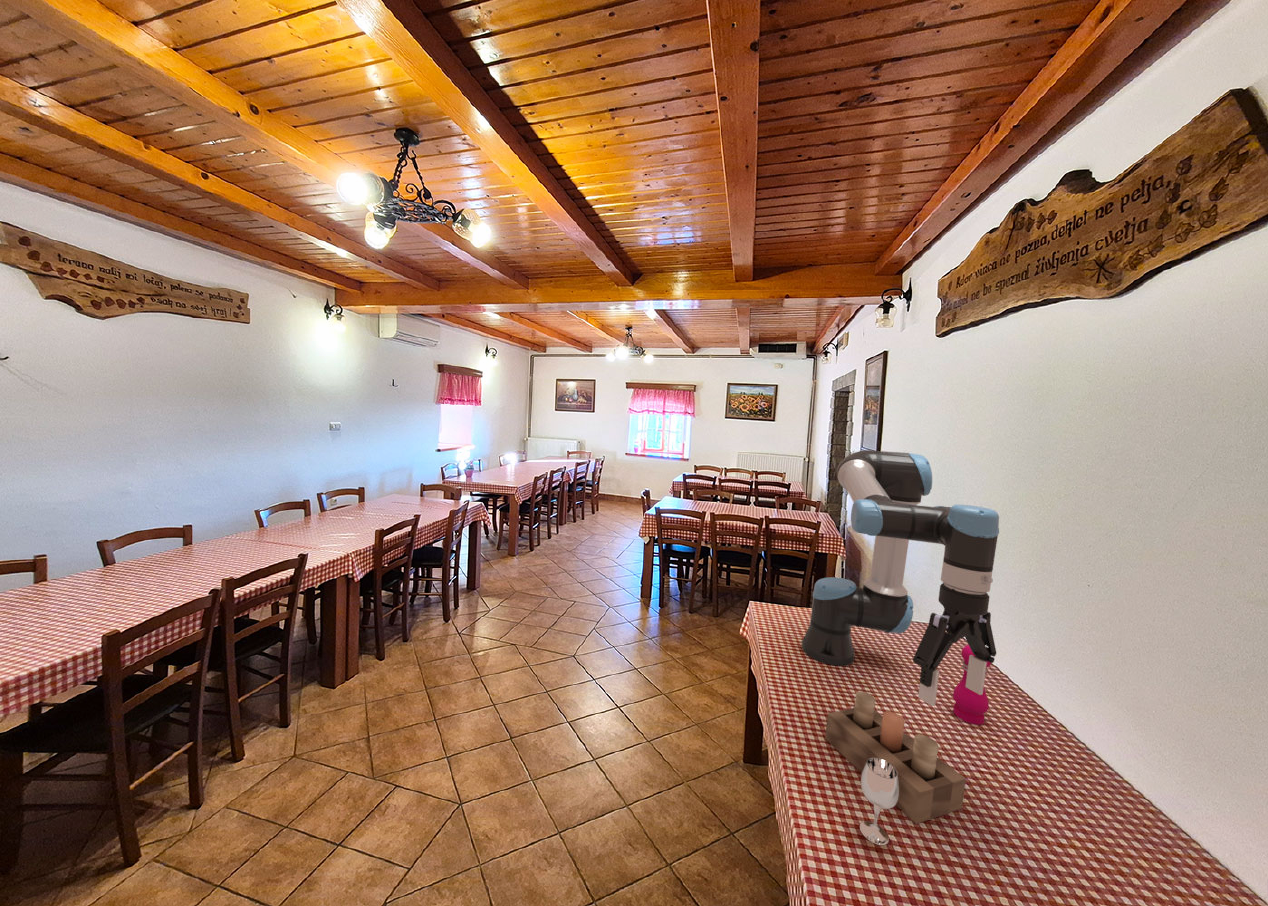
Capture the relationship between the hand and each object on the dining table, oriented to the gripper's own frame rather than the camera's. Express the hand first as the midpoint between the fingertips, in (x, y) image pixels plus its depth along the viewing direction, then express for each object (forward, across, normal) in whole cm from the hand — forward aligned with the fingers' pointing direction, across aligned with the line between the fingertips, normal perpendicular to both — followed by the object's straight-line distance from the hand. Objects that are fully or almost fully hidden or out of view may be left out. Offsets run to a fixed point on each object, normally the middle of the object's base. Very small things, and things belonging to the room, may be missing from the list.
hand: (950, 696), depth 85 cm
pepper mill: (+20, +33, +15) cm, 41 cm away
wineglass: (+20, -20, -2) cm, 29 cm away
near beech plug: (+15, -5, +1) cm, 15 cm away
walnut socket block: (+20, -4, +8) cm, 22 cm away
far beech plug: (+15, -4, +15) cm, 21 cm away
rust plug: (+15, -4, +8) cm, 17 cm away
